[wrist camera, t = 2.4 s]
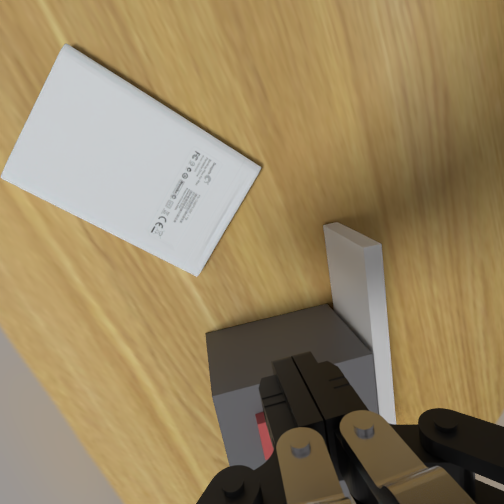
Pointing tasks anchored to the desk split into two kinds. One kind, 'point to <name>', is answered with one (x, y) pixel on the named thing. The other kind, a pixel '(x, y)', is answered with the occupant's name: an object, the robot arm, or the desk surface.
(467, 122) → the desk surface
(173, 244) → the external hard drive
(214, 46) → the desk surface
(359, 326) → the door
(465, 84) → the desk surface
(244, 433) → the camera body
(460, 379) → the desk surface
